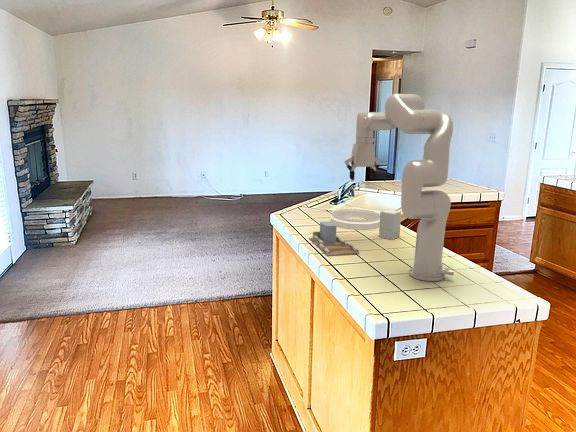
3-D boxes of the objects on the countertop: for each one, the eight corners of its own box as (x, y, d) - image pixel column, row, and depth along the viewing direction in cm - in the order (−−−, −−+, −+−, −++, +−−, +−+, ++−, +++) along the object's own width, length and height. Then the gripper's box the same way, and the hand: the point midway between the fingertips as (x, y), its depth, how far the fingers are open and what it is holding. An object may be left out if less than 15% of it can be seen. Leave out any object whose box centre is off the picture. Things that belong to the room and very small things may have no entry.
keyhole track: (359, 254, 190) (359, 246, 189) (327, 256, 186) (327, 248, 186) (337, 237, 214) (337, 230, 213) (308, 238, 211) (309, 231, 210)
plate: (392, 226, 238) (393, 216, 237) (354, 233, 223) (354, 222, 222) (357, 215, 260) (357, 206, 258) (320, 221, 245) (320, 211, 243)
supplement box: (399, 237, 217) (402, 211, 214) (391, 240, 211) (393, 213, 208) (386, 234, 221) (388, 208, 219) (378, 237, 216) (379, 211, 213)
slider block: (335, 242, 204) (336, 225, 202) (325, 243, 203) (325, 226, 201) (329, 238, 211) (330, 221, 209) (319, 238, 210) (320, 221, 208)
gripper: (378, 140, 207) (376, 177, 211) (342, 140, 203) (341, 178, 206) (385, 141, 200) (383, 180, 204) (349, 141, 195) (347, 181, 199)
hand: (362, 179), depth 205 cm, fingers open, 9 cm apart
